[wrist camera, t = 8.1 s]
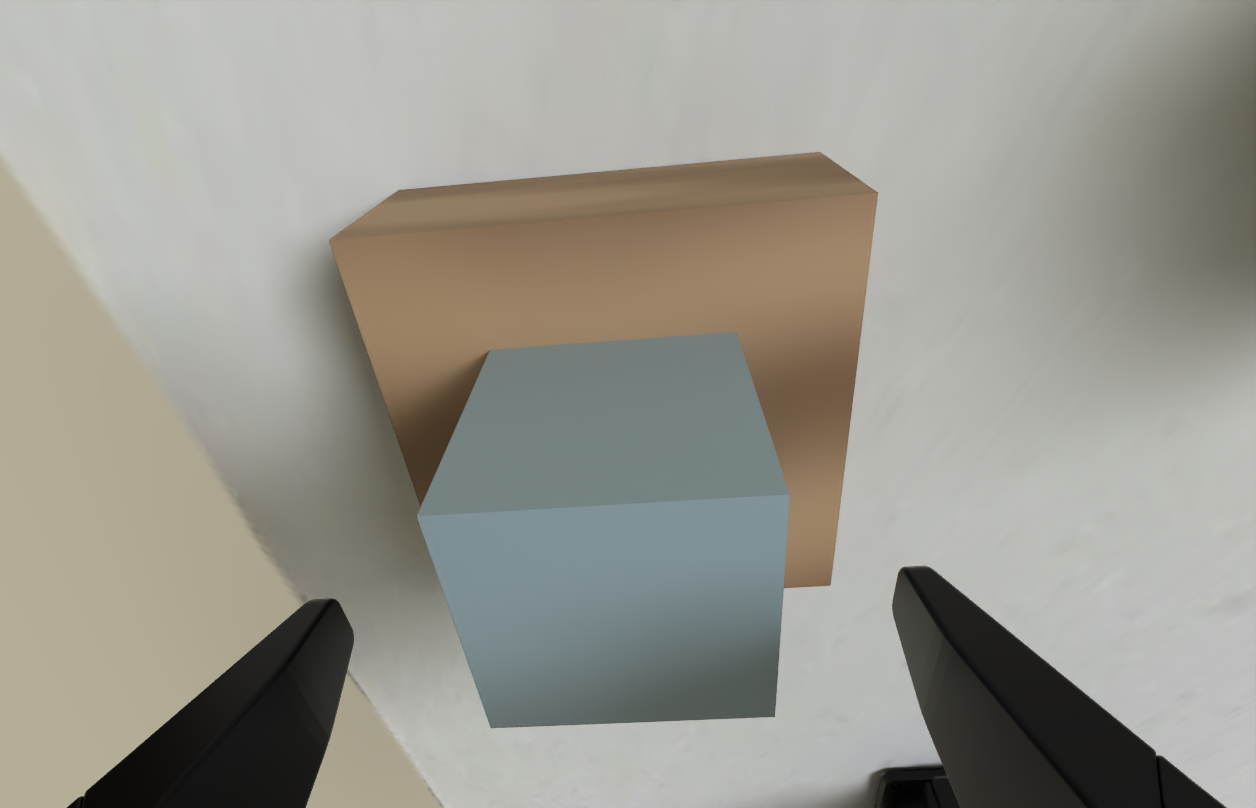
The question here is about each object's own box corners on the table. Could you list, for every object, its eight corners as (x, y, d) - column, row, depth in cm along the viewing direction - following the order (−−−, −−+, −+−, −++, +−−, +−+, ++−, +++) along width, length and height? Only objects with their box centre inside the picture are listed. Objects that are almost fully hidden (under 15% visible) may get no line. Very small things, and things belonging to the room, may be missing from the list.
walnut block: (796, 487, 20) (830, 585, 16) (485, 506, 20) (455, 605, 17) (820, 151, 14) (877, 192, 11) (398, 190, 15) (328, 240, 11)
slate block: (734, 519, 15) (774, 716, 11) (531, 530, 15) (490, 728, 11) (736, 331, 12) (789, 494, 8) (489, 349, 13) (416, 516, 8)
